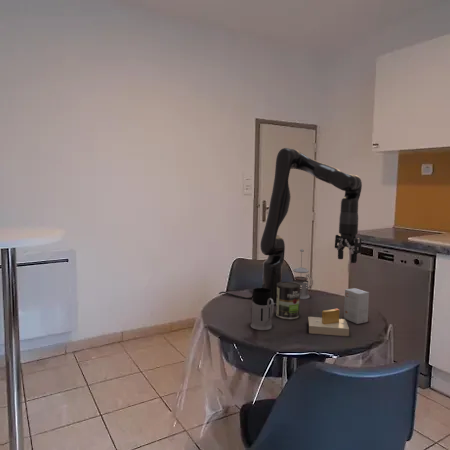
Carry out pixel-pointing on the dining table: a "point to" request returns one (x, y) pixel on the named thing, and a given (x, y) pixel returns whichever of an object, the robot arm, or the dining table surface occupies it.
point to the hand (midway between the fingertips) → (346, 260)
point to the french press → (302, 280)
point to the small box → (356, 305)
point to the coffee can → (288, 300)
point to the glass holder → (262, 309)
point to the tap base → (328, 327)
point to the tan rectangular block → (330, 316)
